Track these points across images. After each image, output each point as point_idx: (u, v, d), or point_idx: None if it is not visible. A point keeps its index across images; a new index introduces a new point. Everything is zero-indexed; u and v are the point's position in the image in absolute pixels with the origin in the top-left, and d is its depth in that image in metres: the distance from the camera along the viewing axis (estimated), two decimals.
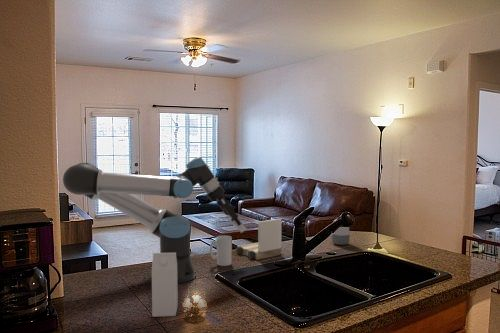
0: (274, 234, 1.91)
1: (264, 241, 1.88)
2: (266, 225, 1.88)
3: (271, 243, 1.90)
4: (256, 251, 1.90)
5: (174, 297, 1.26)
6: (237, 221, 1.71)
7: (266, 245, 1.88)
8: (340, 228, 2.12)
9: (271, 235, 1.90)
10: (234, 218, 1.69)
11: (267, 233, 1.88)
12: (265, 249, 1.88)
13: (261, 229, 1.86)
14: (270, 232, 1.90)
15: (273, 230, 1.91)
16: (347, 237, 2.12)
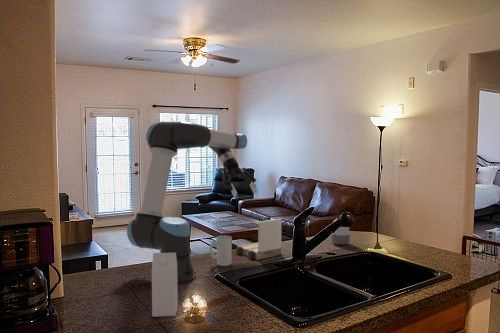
0: (274, 234, 1.91)
1: (264, 241, 1.88)
2: (266, 225, 1.88)
3: (271, 243, 1.90)
4: (256, 251, 1.90)
5: (174, 297, 1.26)
6: None
7: (266, 245, 1.88)
8: (340, 228, 2.12)
9: (271, 235, 1.90)
10: (255, 180, 2.13)
11: (267, 233, 1.88)
12: (265, 249, 1.88)
13: (261, 229, 1.86)
14: (270, 232, 1.90)
15: (273, 230, 1.91)
16: (347, 237, 2.12)
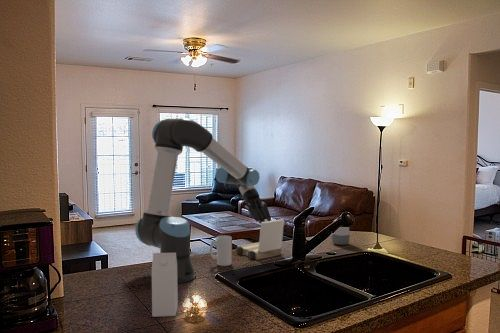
0: (275, 235, 1.90)
1: (265, 242, 1.87)
2: (268, 226, 1.87)
3: (272, 243, 1.90)
4: (256, 251, 1.90)
5: (174, 297, 1.26)
6: None
7: (266, 245, 1.88)
8: (340, 228, 2.12)
9: (272, 236, 1.89)
10: (269, 217, 1.97)
11: (268, 233, 1.87)
12: (265, 249, 1.88)
13: (263, 230, 1.85)
14: (272, 233, 1.89)
15: (275, 231, 1.90)
16: (347, 237, 2.12)
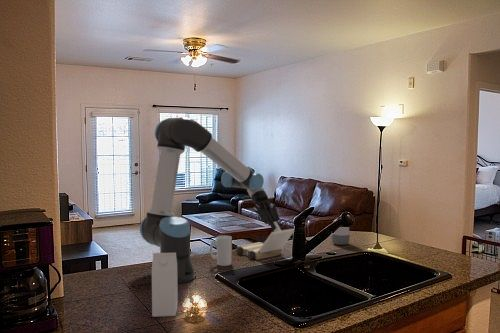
0: (280, 241, 1.87)
1: (268, 246, 1.85)
2: (277, 236, 1.82)
3: (274, 246, 1.89)
4: (256, 251, 1.90)
5: (174, 297, 1.26)
6: None
7: (268, 248, 1.87)
8: (340, 228, 2.12)
9: (277, 242, 1.87)
10: (278, 219, 1.92)
11: (274, 240, 1.84)
12: (266, 251, 1.88)
13: (271, 238, 1.81)
14: (278, 240, 1.85)
15: (281, 238, 1.86)
16: (347, 237, 2.12)
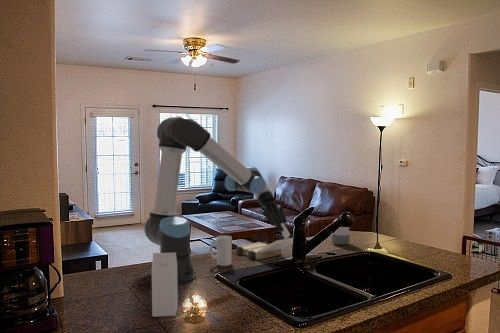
0: (282, 245, 1.87)
1: (269, 249, 1.85)
2: (280, 243, 1.80)
3: (274, 248, 1.88)
4: (256, 251, 1.90)
5: (174, 297, 1.26)
6: None
7: (269, 250, 1.87)
8: (340, 228, 2.12)
9: (279, 246, 1.86)
10: None
11: (276, 246, 1.83)
12: (266, 251, 1.88)
13: (273, 245, 1.80)
14: (280, 245, 1.84)
15: (284, 244, 1.85)
16: (347, 237, 2.12)
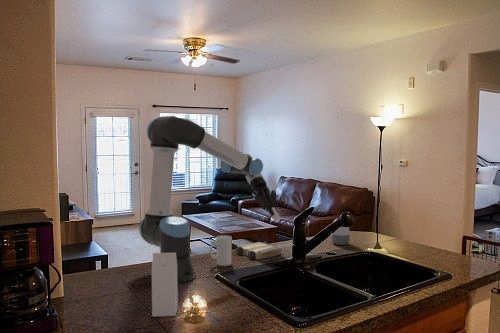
0: (283, 247, 1.86)
1: None
2: (281, 247, 1.80)
3: None
4: (256, 251, 1.90)
5: (174, 297, 1.26)
6: None
7: None
8: (340, 228, 2.12)
9: (279, 248, 1.86)
10: None
11: None
12: None
13: (274, 249, 1.79)
14: (280, 248, 1.84)
15: (284, 247, 1.84)
16: (347, 237, 2.12)
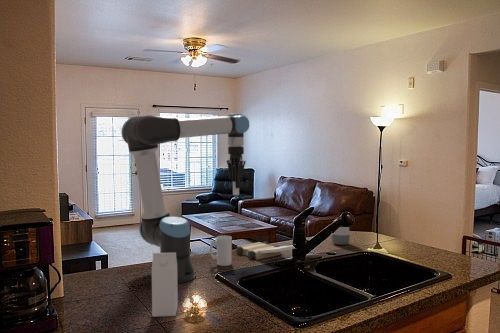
0: None
1: None
2: None
3: None
4: (256, 251, 1.90)
5: (174, 297, 1.26)
6: (238, 184, 1.96)
7: None
8: (340, 228, 2.12)
9: None
10: (239, 180, 1.94)
11: None
12: None
13: (275, 251, 1.79)
14: None
15: None
16: (347, 237, 2.12)
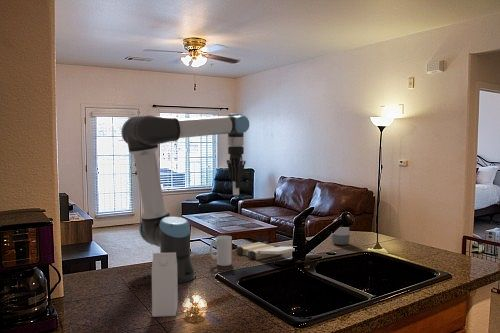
0: None
1: None
2: None
3: None
4: (256, 251, 1.90)
5: (174, 297, 1.26)
6: (238, 184, 1.96)
7: None
8: (340, 228, 2.12)
9: None
10: (239, 179, 1.94)
11: None
12: None
13: (275, 253, 1.79)
14: None
15: None
16: (347, 237, 2.12)
